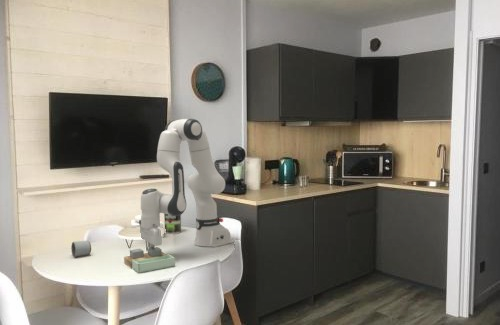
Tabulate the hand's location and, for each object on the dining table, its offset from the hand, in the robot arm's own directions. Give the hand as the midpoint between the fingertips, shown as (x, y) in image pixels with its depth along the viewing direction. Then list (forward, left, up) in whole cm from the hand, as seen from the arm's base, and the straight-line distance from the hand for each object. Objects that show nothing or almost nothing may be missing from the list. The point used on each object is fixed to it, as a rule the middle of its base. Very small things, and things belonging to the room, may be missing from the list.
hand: (151, 250), depth 209 cm
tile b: (+8, +2, -1) cm, 8 cm away
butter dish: (-16, -50, -5) cm, 52 cm away
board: (+4, +3, -4) cm, 6 cm away
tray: (+4, +13, -4) cm, 14 cm away
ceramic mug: (+27, -29, -4) cm, 40 cm away
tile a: (0, +4, -1) cm, 4 cm away
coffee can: (-32, -49, -4) cm, 59 cm away
